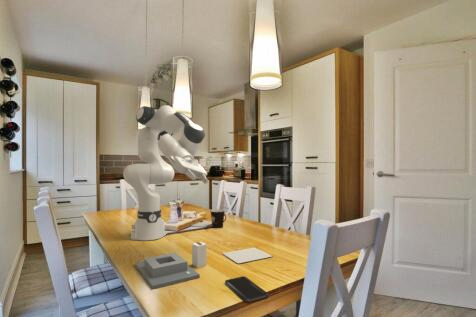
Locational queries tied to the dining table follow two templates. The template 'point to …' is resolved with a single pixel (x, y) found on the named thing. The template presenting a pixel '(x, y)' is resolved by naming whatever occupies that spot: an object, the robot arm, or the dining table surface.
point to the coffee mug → (217, 218)
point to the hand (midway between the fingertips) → (200, 180)
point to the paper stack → (246, 255)
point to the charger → (199, 254)
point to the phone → (246, 289)
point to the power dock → (167, 277)
